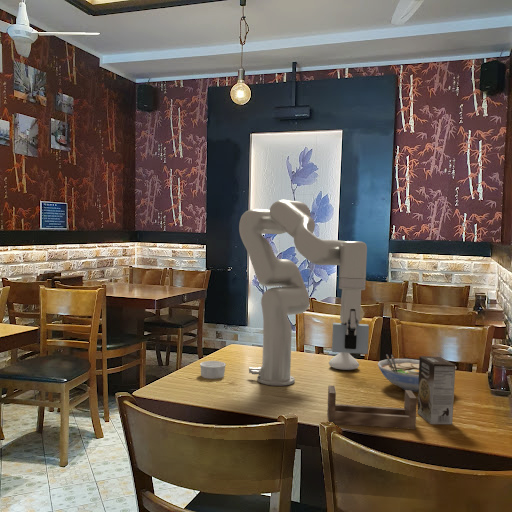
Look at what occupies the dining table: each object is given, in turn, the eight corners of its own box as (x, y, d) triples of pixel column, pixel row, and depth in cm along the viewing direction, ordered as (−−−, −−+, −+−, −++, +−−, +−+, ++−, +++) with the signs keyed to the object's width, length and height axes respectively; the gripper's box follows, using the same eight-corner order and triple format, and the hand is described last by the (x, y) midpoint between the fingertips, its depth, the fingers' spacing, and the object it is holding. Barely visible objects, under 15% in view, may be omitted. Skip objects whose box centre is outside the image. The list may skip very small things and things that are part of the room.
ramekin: (224, 380, 169) (224, 367, 169) (198, 379, 169) (198, 366, 169) (226, 373, 178) (226, 361, 178) (201, 372, 178) (201, 360, 178)
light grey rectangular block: (332, 352, 145) (333, 324, 144) (331, 349, 148) (332, 322, 147) (367, 353, 144) (368, 326, 143) (366, 351, 147) (367, 324, 146)
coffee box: (416, 412, 141) (418, 355, 141) (438, 413, 142) (440, 356, 142) (430, 424, 132) (432, 363, 132) (453, 424, 133) (456, 363, 132)
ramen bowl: (456, 403, 151) (457, 376, 151) (378, 396, 156) (379, 370, 156) (442, 381, 176) (443, 358, 176) (375, 376, 180) (376, 353, 180)
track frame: (328, 423, 131) (329, 392, 130) (327, 414, 138) (328, 385, 137) (415, 429, 128) (416, 398, 128) (409, 419, 135) (411, 390, 135)
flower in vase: (323, 369, 188) (326, 302, 188) (335, 363, 198) (337, 300, 198) (356, 374, 182) (359, 305, 181) (367, 368, 191) (370, 303, 191)
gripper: (337, 281, 154) (334, 341, 154) (341, 285, 137) (338, 352, 138) (362, 282, 153) (359, 342, 153) (369, 286, 137) (366, 354, 137)
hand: (349, 346), depth 146 cm, fingers closed on light grey rectangular block, 3 cm apart
